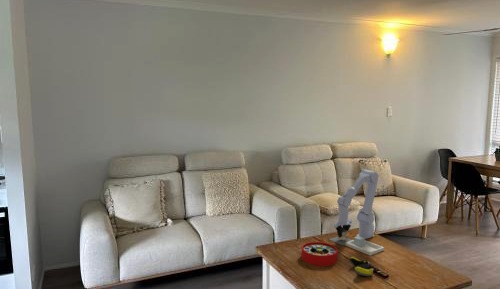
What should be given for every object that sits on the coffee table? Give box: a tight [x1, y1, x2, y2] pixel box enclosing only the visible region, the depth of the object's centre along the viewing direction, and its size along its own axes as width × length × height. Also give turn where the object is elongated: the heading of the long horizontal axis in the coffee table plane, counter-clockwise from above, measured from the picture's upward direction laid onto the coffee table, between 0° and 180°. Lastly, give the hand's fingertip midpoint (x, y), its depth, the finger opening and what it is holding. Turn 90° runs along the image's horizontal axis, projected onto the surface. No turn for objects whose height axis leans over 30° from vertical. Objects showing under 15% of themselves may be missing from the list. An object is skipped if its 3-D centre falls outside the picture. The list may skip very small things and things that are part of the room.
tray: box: [345, 239, 385, 257], centre depth 226 cm, size 18×13×2 cm
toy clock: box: [301, 241, 339, 267], centre depth 212 cm, size 20×6×20 cm
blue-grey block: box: [353, 235, 366, 247], centre depth 229 cm, size 4×4×5 cm
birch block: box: [338, 230, 349, 240], centre depth 236 cm, size 4×4×5 cm
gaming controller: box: [349, 256, 374, 278], centre depth 195 cm, size 15×6×10 cm
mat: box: [328, 235, 353, 246], centre depth 237 cm, size 12×12×1 cm
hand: (342, 236), depth 237 cm, fingers closed on birch block, 4 cm apart
